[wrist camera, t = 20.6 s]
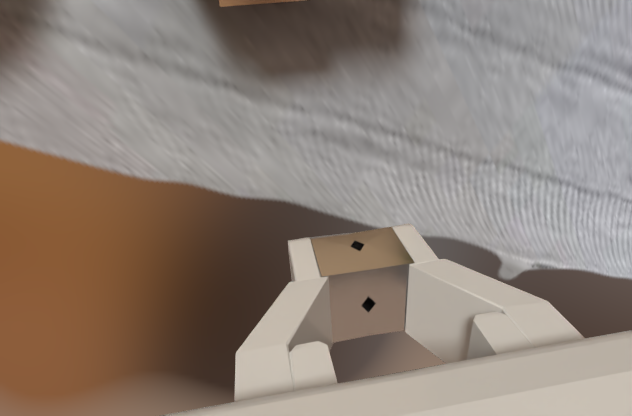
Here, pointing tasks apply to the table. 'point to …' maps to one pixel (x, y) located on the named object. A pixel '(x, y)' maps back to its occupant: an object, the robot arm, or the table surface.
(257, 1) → the tray
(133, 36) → the table surface
